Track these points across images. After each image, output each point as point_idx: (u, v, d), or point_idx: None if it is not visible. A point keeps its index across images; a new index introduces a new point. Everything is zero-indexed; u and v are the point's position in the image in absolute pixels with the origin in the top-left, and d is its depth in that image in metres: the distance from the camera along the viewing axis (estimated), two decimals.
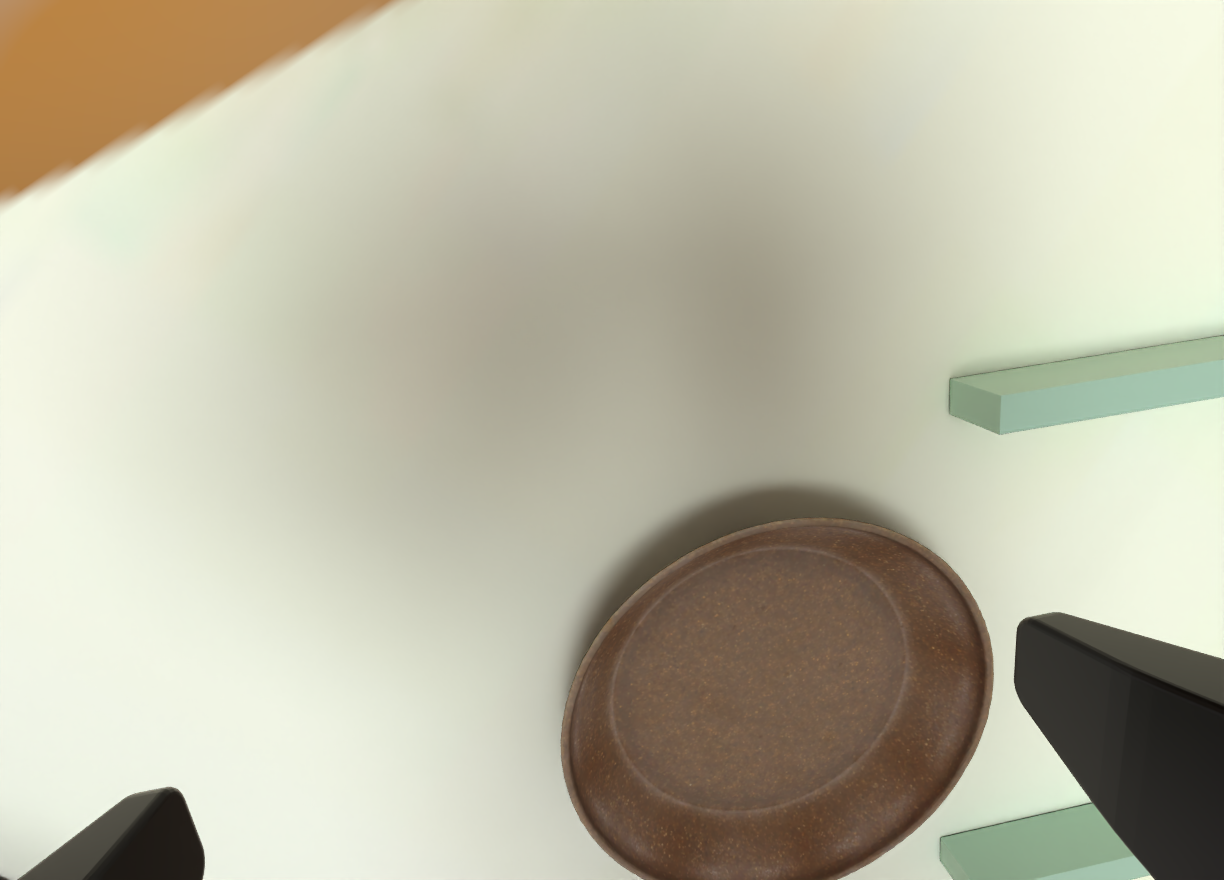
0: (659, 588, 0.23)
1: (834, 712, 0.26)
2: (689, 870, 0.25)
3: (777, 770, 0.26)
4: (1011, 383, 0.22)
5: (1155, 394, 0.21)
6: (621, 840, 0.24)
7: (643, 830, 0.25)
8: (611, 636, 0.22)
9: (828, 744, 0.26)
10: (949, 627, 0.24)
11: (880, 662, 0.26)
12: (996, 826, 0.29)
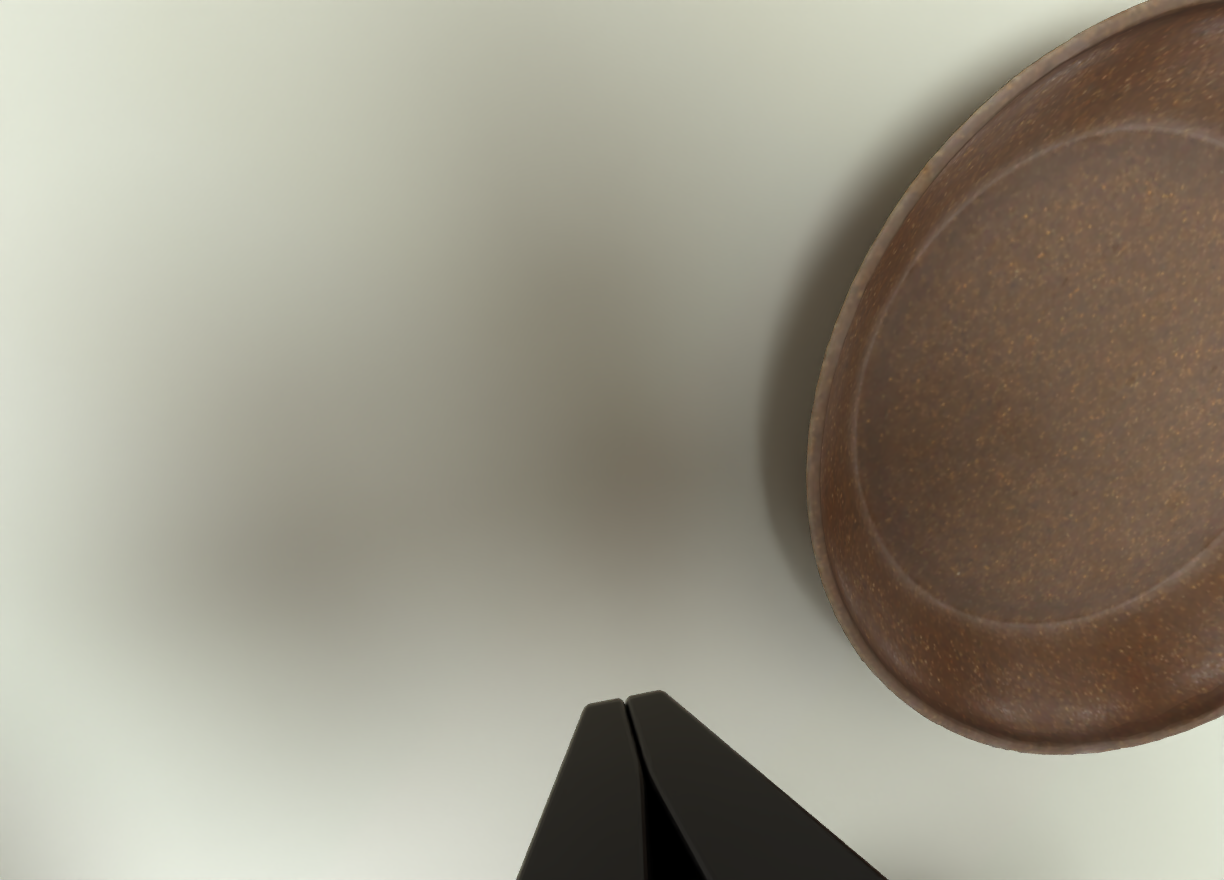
0: (972, 171, 0.13)
1: (1190, 457, 0.16)
2: (970, 704, 0.15)
3: (1090, 556, 0.16)
4: None
5: None
6: (875, 643, 0.14)
7: (898, 635, 0.15)
8: (892, 248, 0.13)
9: (1172, 514, 0.16)
10: None
11: None
12: None
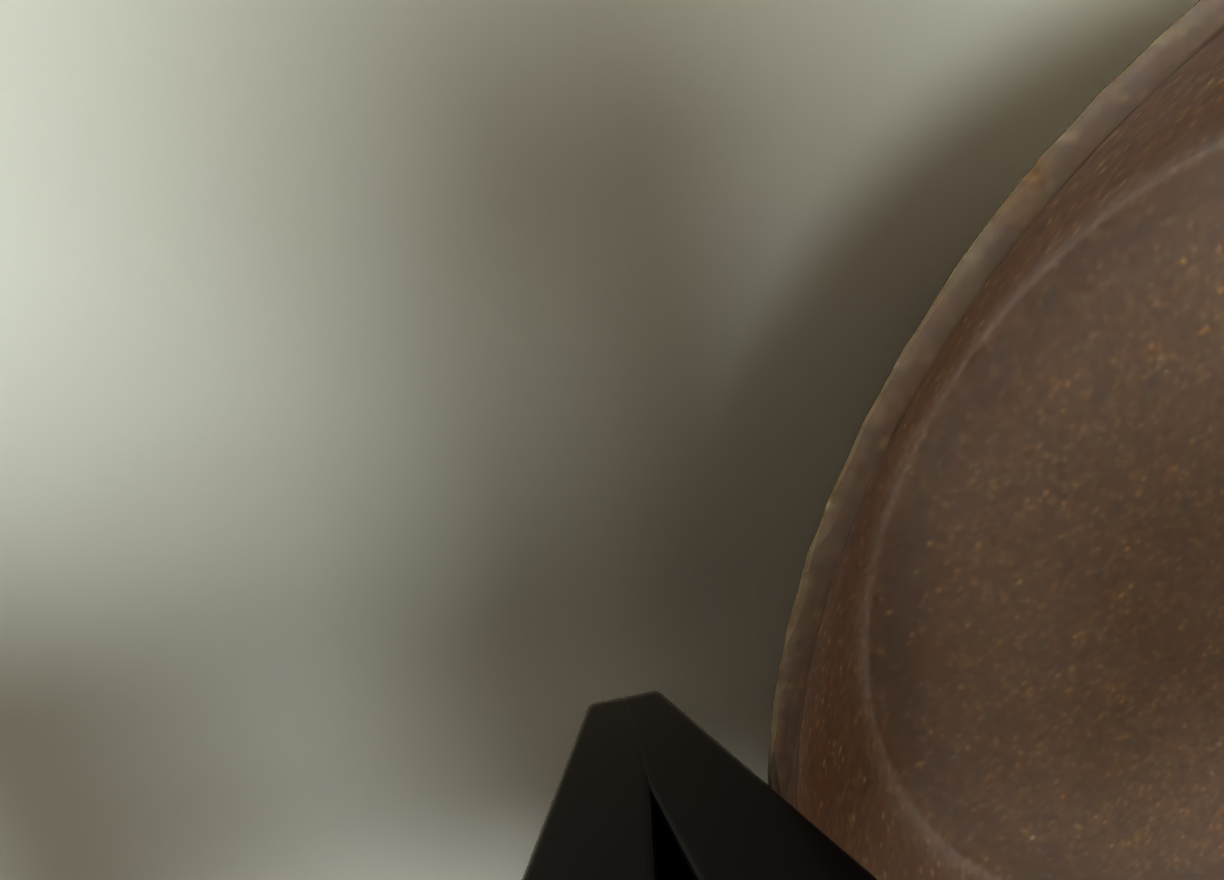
0: (1101, 177, 0.07)
1: None
2: None
3: None
4: None
5: None
6: None
7: None
8: None
9: None
10: None
11: None
12: None
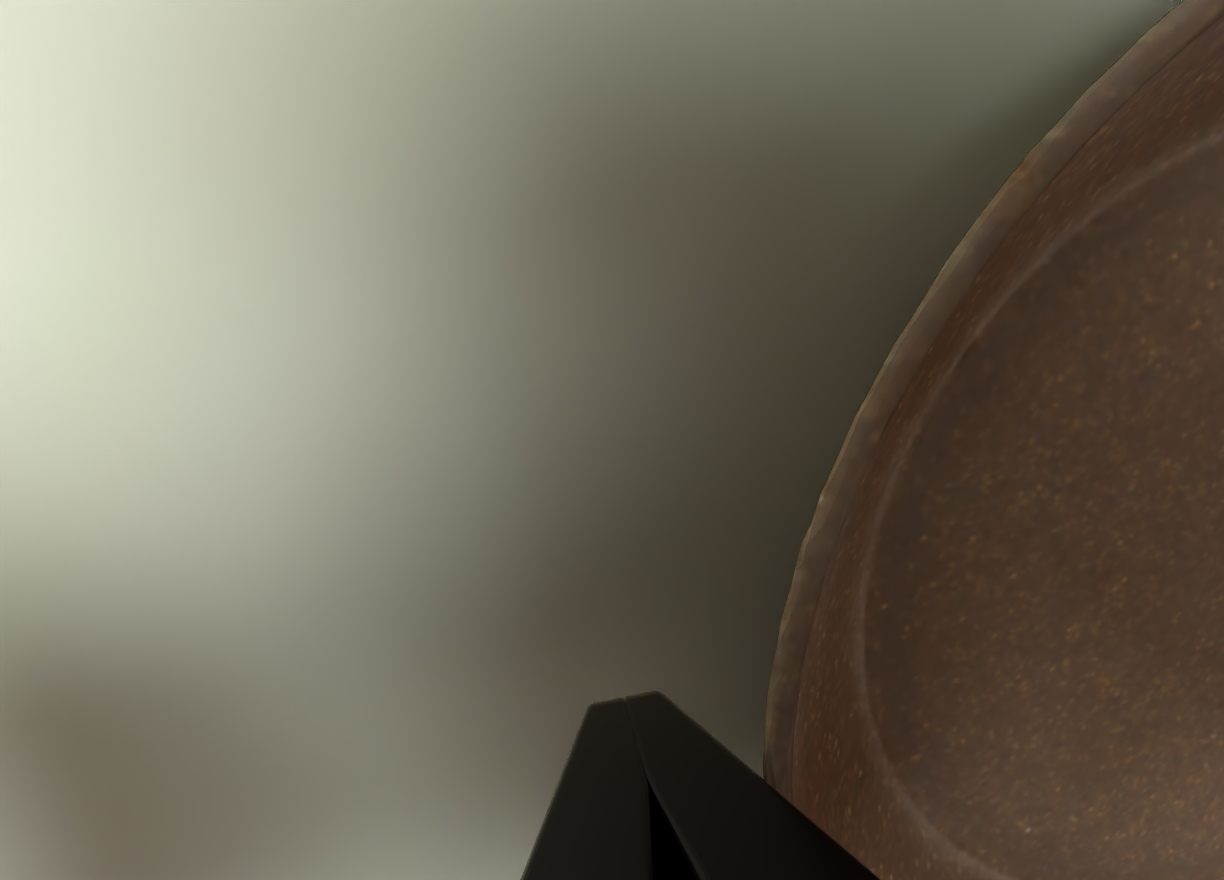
0: (1092, 173, 0.07)
1: None
2: None
3: None
4: None
5: None
6: None
7: None
8: None
9: None
10: None
11: None
12: None
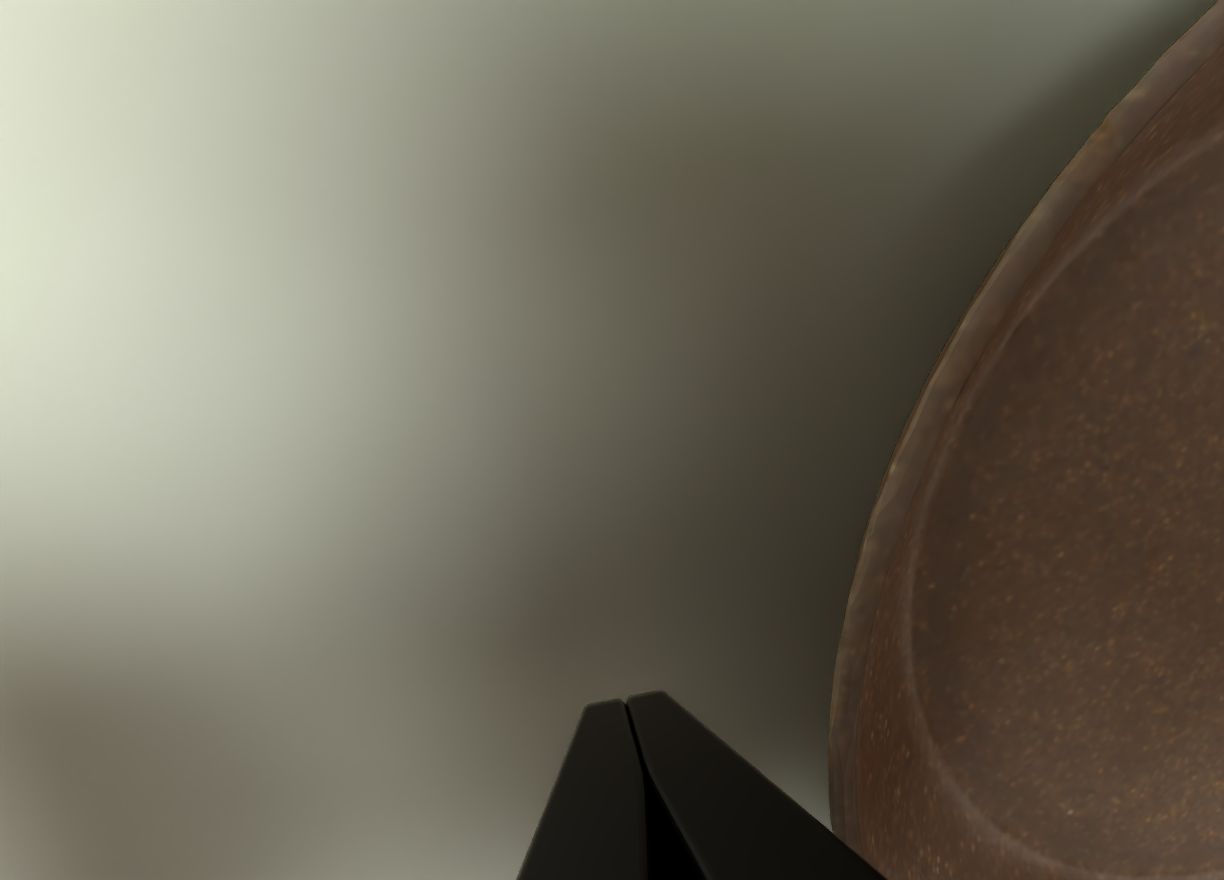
0: (1150, 143, 0.07)
1: None
2: None
3: None
4: None
5: None
6: None
7: None
8: None
9: None
10: None
11: None
12: None
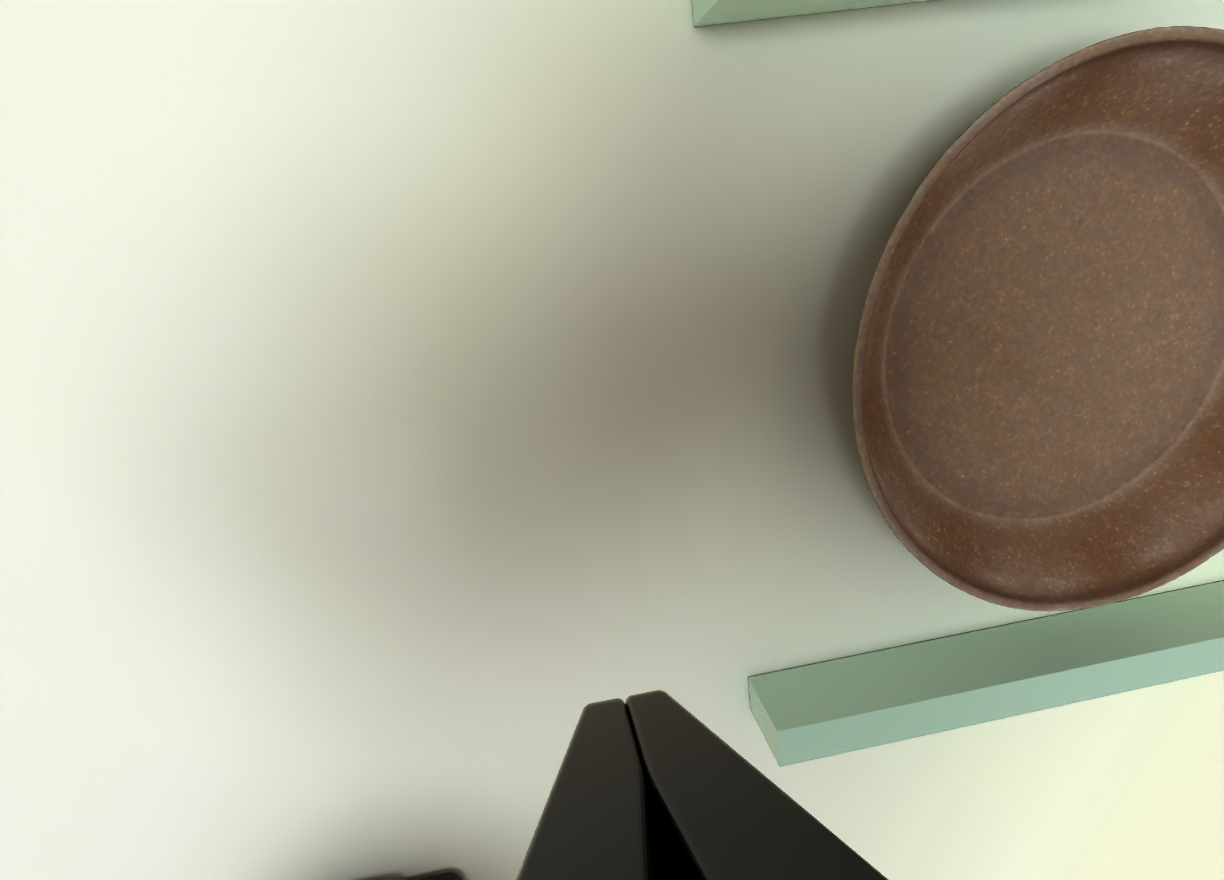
0: (972, 164, 0.18)
1: (1141, 386, 0.21)
2: (972, 571, 0.20)
3: (1065, 464, 0.21)
4: None
5: None
6: (900, 519, 0.19)
7: (917, 518, 0.20)
8: (914, 220, 0.17)
9: (1129, 432, 0.21)
10: None
11: (1205, 317, 0.20)
12: (823, 663, 0.22)
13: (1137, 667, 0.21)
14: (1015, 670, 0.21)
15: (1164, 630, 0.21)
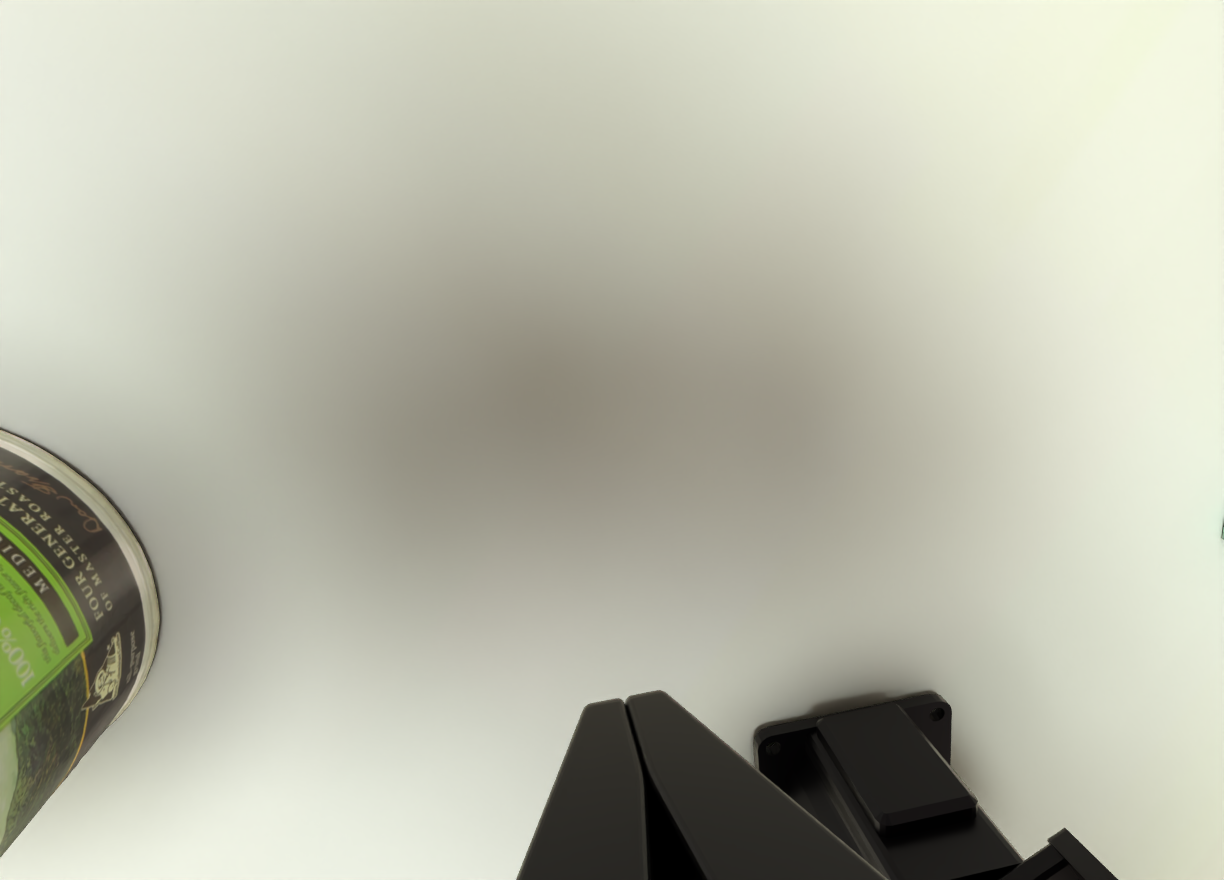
0: None
1: None
2: None
3: None
4: None
5: None
6: None
7: None
8: None
9: None
10: None
11: None
12: None
13: None
14: None
15: None
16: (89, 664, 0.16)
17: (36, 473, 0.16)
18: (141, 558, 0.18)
